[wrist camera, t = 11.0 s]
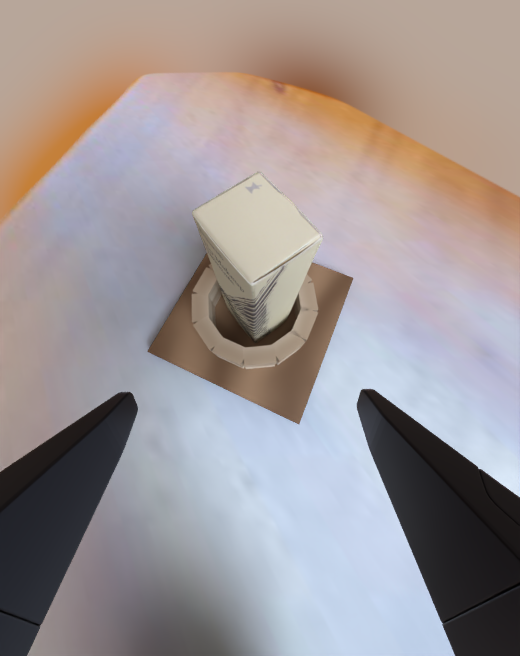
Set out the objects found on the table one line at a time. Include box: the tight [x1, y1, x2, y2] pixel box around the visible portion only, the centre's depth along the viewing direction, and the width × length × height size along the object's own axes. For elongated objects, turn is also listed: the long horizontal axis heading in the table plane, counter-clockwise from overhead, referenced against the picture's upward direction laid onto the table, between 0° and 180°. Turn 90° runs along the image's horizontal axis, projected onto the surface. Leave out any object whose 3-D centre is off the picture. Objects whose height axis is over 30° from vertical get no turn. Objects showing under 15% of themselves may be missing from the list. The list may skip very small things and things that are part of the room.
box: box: [192, 172, 323, 343], centre depth 16 cm, size 5×4×13 cm
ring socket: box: [148, 253, 353, 424], centre depth 21 cm, size 16×16×4 cm
